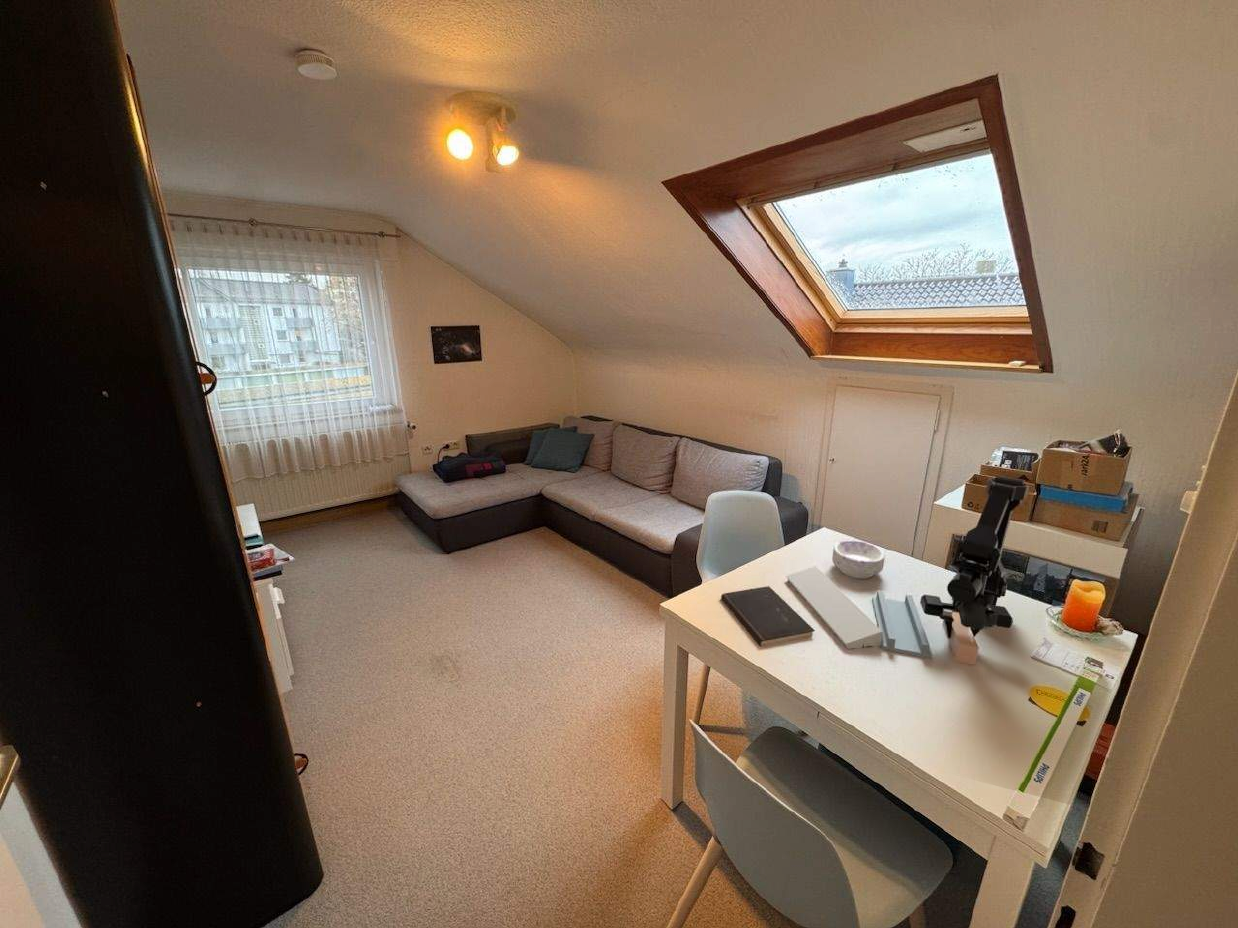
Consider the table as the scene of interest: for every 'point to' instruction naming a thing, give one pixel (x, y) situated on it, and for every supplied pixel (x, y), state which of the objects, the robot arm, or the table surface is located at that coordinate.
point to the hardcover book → (766, 615)
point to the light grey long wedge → (836, 609)
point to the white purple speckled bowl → (858, 558)
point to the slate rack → (901, 626)
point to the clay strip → (962, 641)
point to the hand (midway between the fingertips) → (958, 638)
